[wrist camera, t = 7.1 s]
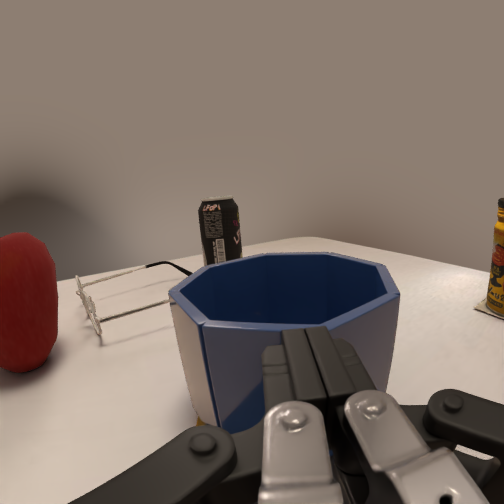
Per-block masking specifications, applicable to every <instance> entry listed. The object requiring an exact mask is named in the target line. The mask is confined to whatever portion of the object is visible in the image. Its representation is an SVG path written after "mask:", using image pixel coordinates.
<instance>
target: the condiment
mask: <svg viewBox="0 0 504 504" xmlns="http://www.w3.org/2000/svg"><path fill="white" fill-rule="evenodd" d="M498 201H499V202H498V206H499V207H498V209H499V210H498V221H497V223H496V224H495V228H494V241H493V254H492V263H491V271H490V280H489V285H488V292H487V297H486V298H485V299H484V300H483V301H482V302H481V303H480V304H478V305H477V306H476V307H473V308H476V309H479V310H482V311H483V312H486V313H489V314H491V315H494V316H497V317H500V318H503V319H504V198H500V199H499V200H498Z"/></svg>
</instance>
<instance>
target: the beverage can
mask: <svg viewBox="0 0 504 504" xmlns="http://www.w3.org/2000/svg"><path fill="white" fill-rule="evenodd" d="M201 201H202V203H201V206H200V208H199V210H198V213H199V223H200V232H201V241H202V249H203V258H204V267H205V266H207V265H211V264H216V263H221V262H225V261H230V260H235V259H239V258H243V257H242V246H241V236H240V223H239V212H238V206H237V204H236V203H235V202H234V200H233V196H220V197H210V198H204V199H201Z"/></svg>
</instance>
